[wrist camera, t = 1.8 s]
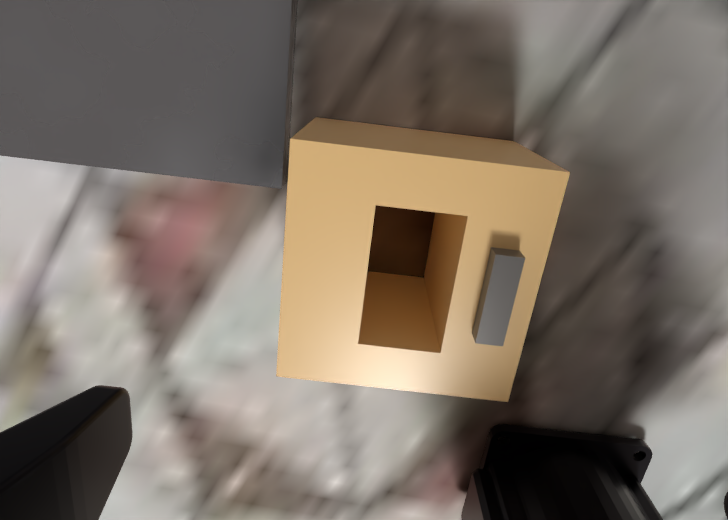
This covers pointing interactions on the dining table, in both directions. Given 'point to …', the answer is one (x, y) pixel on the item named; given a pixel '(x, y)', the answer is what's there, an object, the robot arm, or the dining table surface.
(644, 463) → the robot arm
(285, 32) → the hub plate
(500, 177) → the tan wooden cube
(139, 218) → the dining table surface
